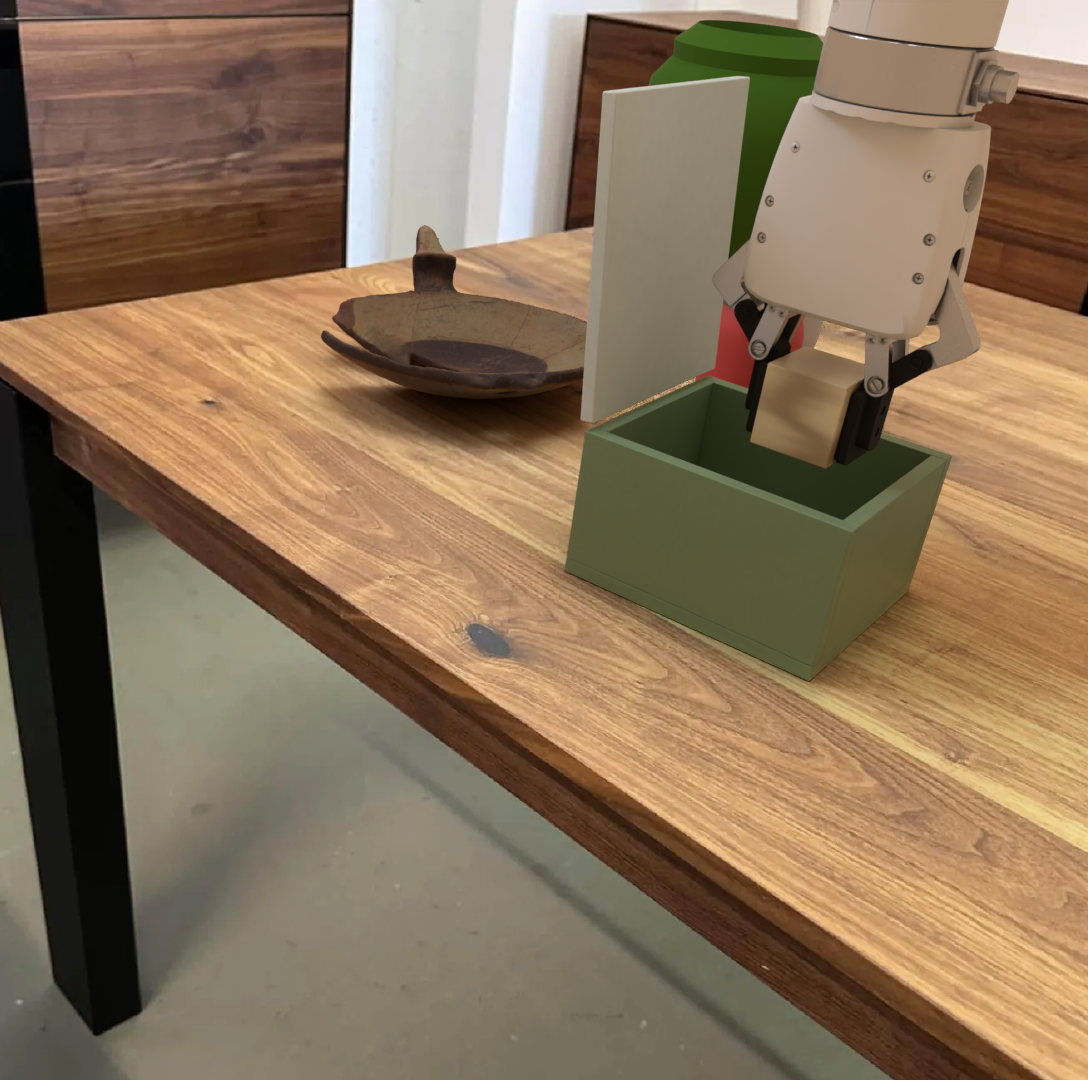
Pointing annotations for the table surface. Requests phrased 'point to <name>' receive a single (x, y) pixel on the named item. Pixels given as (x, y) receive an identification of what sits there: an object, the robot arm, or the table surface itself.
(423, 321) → the oil lamp
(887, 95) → the robot arm
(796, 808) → the table surface
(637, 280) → the grey box lid
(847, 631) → the open green box
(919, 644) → the table surface
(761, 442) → the block
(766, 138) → the vase
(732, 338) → the beer can
